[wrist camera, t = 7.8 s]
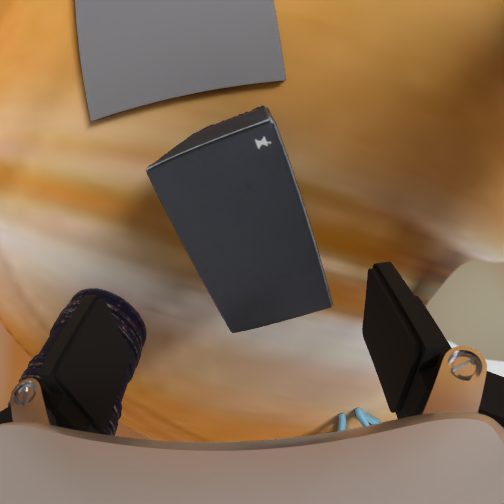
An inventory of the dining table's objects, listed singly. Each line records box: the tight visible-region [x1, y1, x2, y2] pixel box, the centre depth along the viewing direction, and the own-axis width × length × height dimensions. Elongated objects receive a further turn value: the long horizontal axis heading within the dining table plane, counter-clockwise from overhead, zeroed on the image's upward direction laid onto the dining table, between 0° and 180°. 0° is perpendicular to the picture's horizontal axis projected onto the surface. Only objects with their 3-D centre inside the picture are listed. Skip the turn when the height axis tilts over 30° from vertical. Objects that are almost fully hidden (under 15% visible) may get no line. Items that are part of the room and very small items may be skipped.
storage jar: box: [8, 288, 146, 436], centre depth 24 cm, size 10×10×15 cm
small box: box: [146, 105, 333, 333], centre depth 19 cm, size 11×6×10 cm, turn 20°
